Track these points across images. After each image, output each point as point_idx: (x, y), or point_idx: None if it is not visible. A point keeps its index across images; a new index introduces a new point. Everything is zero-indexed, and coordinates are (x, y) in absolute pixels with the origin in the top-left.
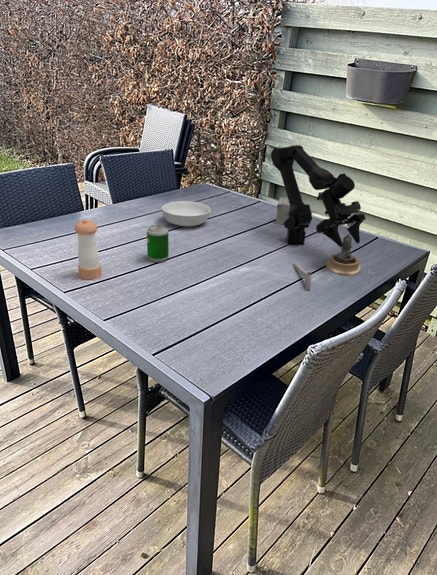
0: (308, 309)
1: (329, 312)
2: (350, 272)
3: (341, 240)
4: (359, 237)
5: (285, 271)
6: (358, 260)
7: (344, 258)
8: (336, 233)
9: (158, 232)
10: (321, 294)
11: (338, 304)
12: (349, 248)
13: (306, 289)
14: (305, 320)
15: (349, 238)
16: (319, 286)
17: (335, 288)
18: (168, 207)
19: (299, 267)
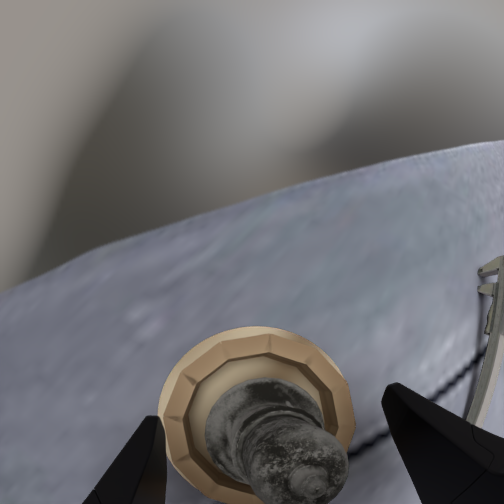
0: (488, 191)
1: (453, 160)
2: (278, 334)
3: (418, 413)
4: (124, 448)
5: (491, 426)
6: (183, 379)
7: (299, 397)
8: (499, 445)
9: None
10: (455, 235)
11: (427, 172)
12: (276, 411)
13: (484, 276)
14: (493, 166)
15: (313, 438)
16: (447, 284)
17: (405, 250)
18: None
19: (486, 404)
